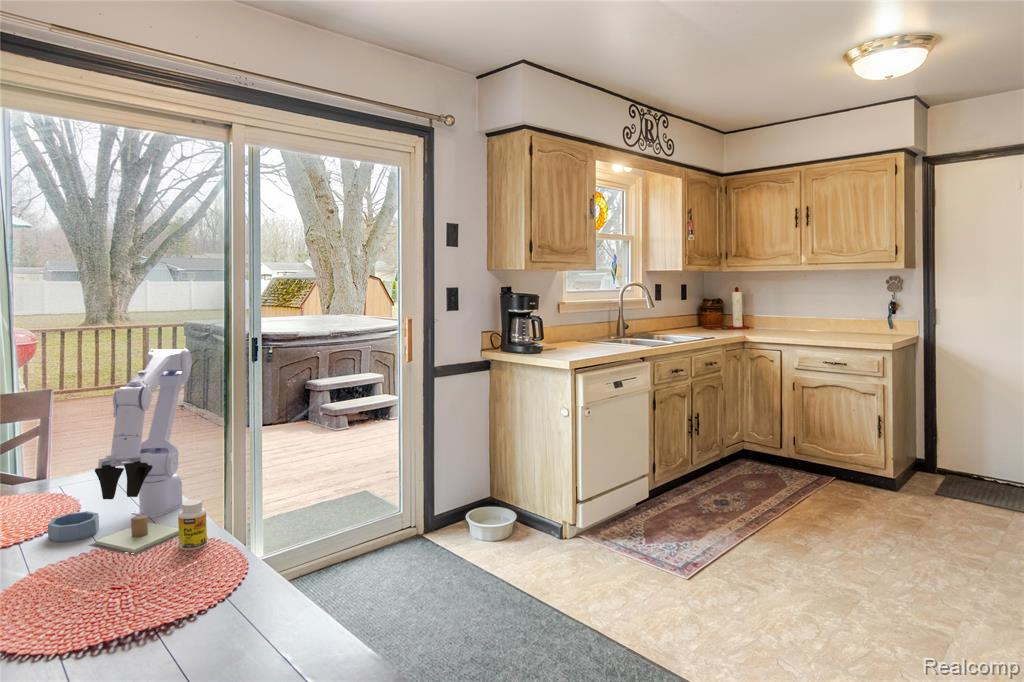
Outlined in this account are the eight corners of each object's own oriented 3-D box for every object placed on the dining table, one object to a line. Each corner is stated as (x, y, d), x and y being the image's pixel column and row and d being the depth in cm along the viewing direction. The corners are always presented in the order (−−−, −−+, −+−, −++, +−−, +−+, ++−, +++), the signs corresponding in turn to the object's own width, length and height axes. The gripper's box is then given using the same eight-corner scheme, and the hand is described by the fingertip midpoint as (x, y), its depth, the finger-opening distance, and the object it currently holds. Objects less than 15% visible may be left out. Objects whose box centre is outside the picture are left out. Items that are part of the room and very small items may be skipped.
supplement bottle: (180, 553, 134) (178, 508, 133) (178, 544, 138) (176, 500, 137) (208, 548, 137) (207, 503, 136) (205, 539, 141) (204, 496, 140)
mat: (145, 524, 150) (145, 522, 149) (188, 533, 145) (188, 531, 145) (88, 546, 136) (88, 545, 136) (133, 557, 132) (133, 555, 132)
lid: (144, 524, 148) (143, 505, 148) (181, 532, 144) (181, 512, 144) (96, 544, 137) (95, 523, 137) (134, 553, 133) (133, 531, 132)
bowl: (80, 525, 148) (79, 509, 148) (107, 531, 145) (106, 515, 145) (40, 540, 140) (39, 523, 139) (67, 546, 137) (66, 529, 136)
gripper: (88, 438, 140) (79, 500, 136) (134, 432, 135) (126, 495, 131) (117, 442, 146) (110, 500, 143) (162, 435, 142) (155, 496, 138)
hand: (120, 498), depth 137 cm, fingers open, 7 cm apart
